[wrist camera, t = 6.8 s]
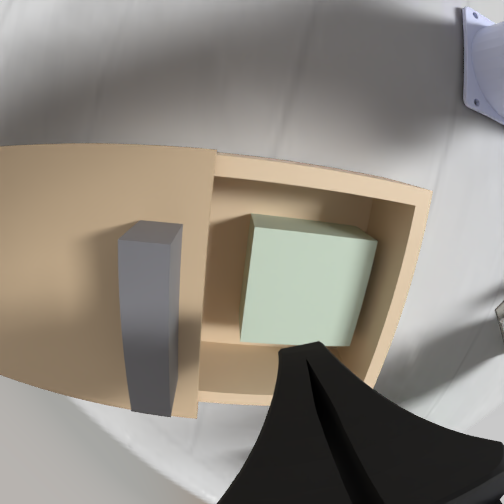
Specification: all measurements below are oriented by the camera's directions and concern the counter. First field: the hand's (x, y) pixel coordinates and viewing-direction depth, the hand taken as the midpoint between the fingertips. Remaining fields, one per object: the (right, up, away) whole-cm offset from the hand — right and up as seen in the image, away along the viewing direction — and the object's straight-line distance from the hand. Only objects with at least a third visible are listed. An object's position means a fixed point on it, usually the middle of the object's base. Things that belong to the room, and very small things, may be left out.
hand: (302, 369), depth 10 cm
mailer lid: (-12, +2, +3) cm, 12 cm away
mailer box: (-3, +3, +9) cm, 10 cm away
